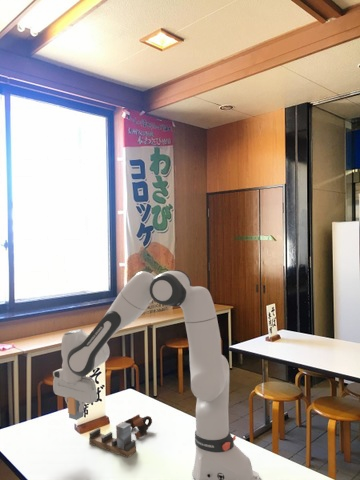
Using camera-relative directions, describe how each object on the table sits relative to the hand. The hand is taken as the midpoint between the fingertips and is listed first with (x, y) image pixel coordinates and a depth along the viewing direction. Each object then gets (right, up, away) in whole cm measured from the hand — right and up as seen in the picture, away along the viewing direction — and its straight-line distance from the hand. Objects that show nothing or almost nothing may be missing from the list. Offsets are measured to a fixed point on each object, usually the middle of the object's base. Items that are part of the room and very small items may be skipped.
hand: (75, 410), depth 150 cm
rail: (+13, -16, +5) cm, 22 cm away
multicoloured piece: (0, -3, 0) cm, 3 cm away
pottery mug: (+22, -16, +16) cm, 32 cm away
